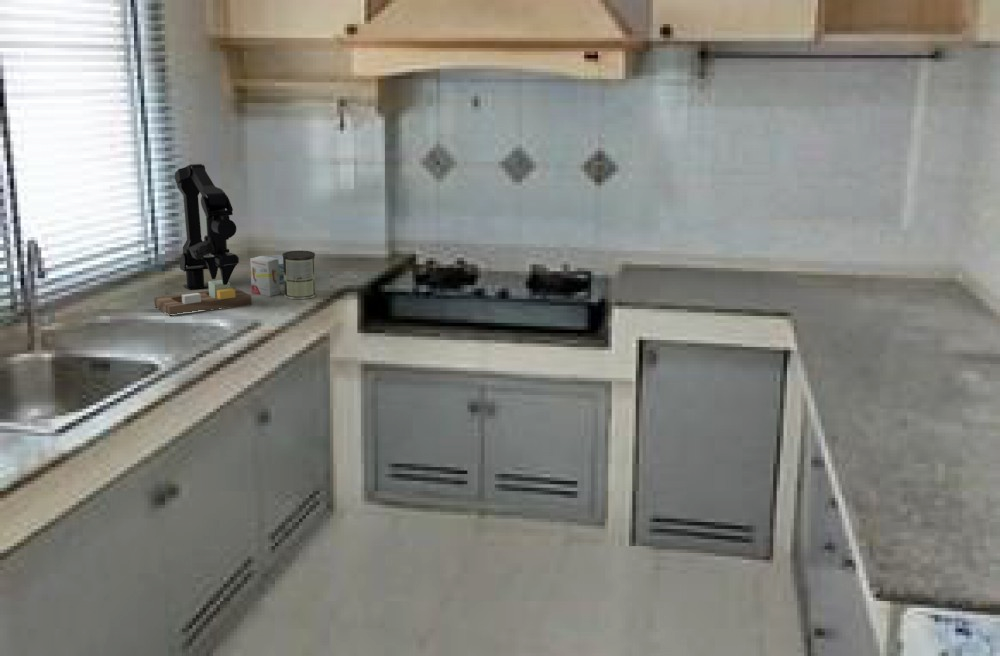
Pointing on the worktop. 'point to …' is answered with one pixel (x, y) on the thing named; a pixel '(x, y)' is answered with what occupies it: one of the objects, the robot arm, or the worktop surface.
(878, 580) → the worktop surface
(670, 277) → the worktop surface
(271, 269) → the ink box
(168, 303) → the socket block
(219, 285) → the pale mint cube
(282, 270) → the chinaware
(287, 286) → the coffee can
